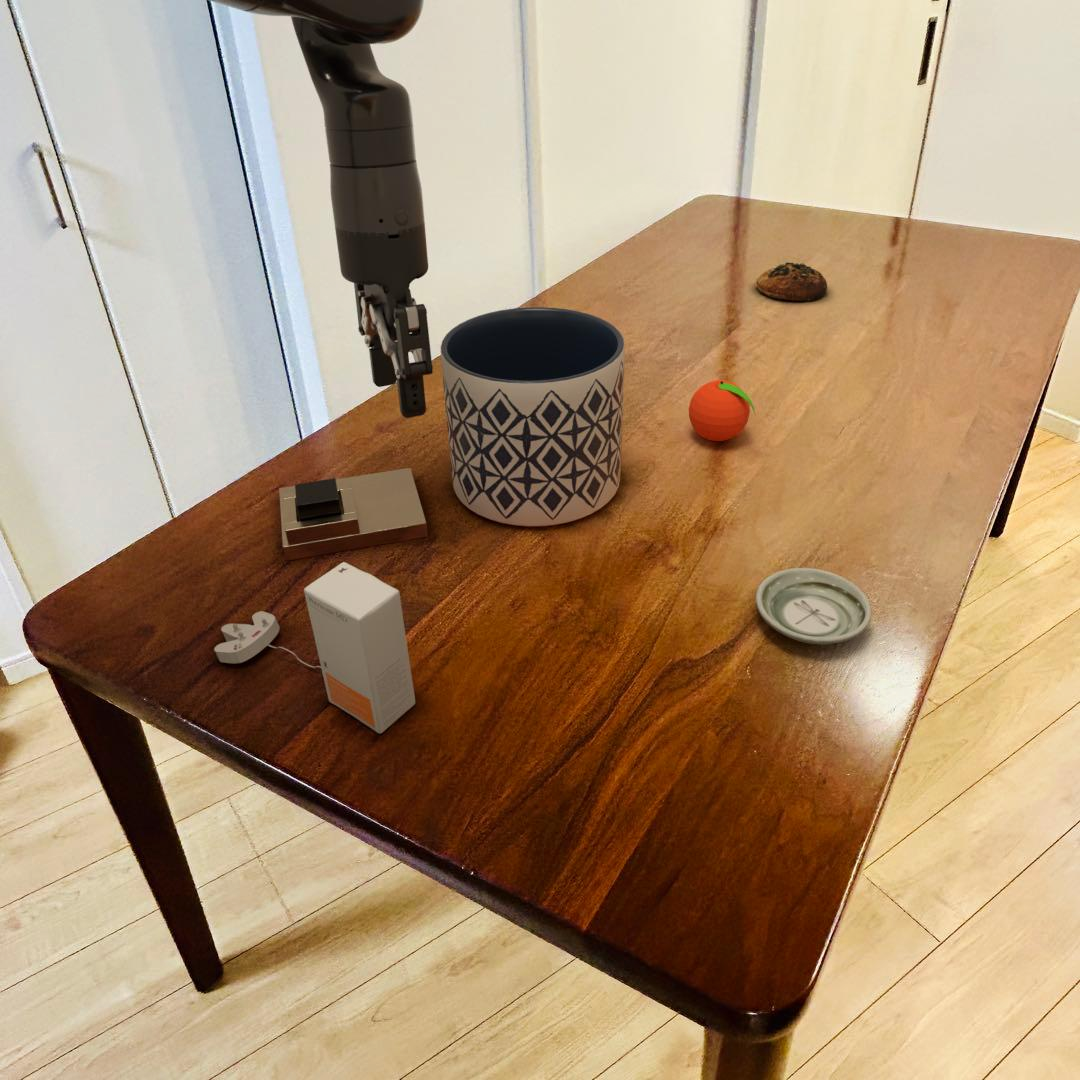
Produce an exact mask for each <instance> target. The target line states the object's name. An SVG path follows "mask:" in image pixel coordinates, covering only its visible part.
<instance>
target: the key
mask: <svg viewBox="0 0 1080 1080" xmlns="http://www.w3.org/2000/svg"><path fill="white" fill-rule="evenodd" d="M336 479H337V478H335V477H334V478H326V479H321V480H315V481H307V482H300V483H295V484H294V486H295V492H296V504H297V510H298V514H299V519H300V522H301V521H307V520H313V519H319V518H325V517H331V516H337V515H342V514H341V508H340V501H339V495H338V490H337V484H336Z"/></svg>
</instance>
